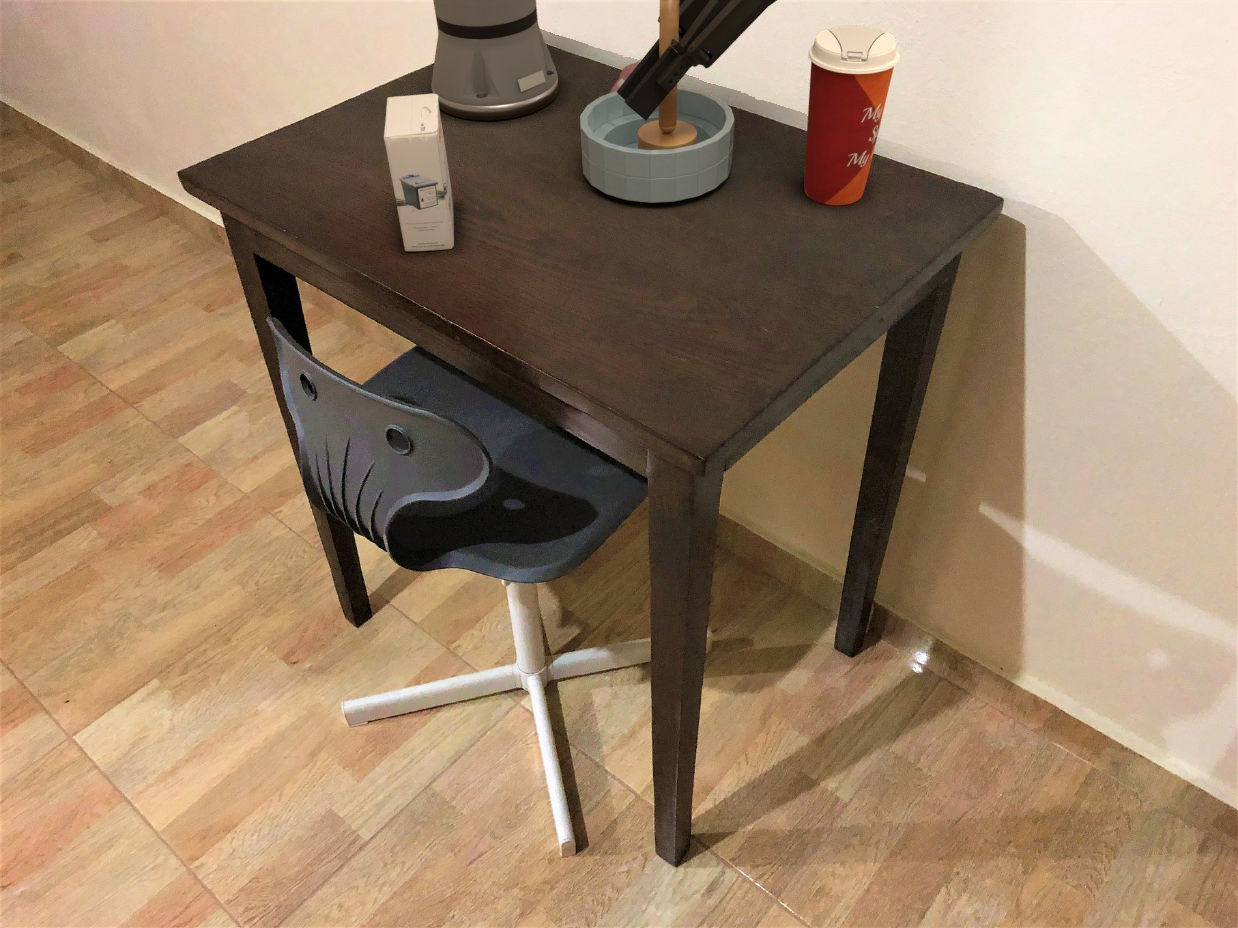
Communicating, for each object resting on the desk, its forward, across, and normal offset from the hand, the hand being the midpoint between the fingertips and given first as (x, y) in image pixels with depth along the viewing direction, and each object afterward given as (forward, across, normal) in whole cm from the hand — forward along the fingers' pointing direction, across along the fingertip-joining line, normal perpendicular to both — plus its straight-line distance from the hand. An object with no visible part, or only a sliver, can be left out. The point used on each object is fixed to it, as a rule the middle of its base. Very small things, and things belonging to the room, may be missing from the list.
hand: (631, 106), depth 90 cm
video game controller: (+3, +16, -9) cm, 19 cm away
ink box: (+21, 0, +9) cm, 23 cm away
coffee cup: (-7, -8, -20) cm, 22 cm away
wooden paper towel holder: (+1, 0, -7) cm, 7 cm away
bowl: (+4, +2, -8) cm, 10 cm away
